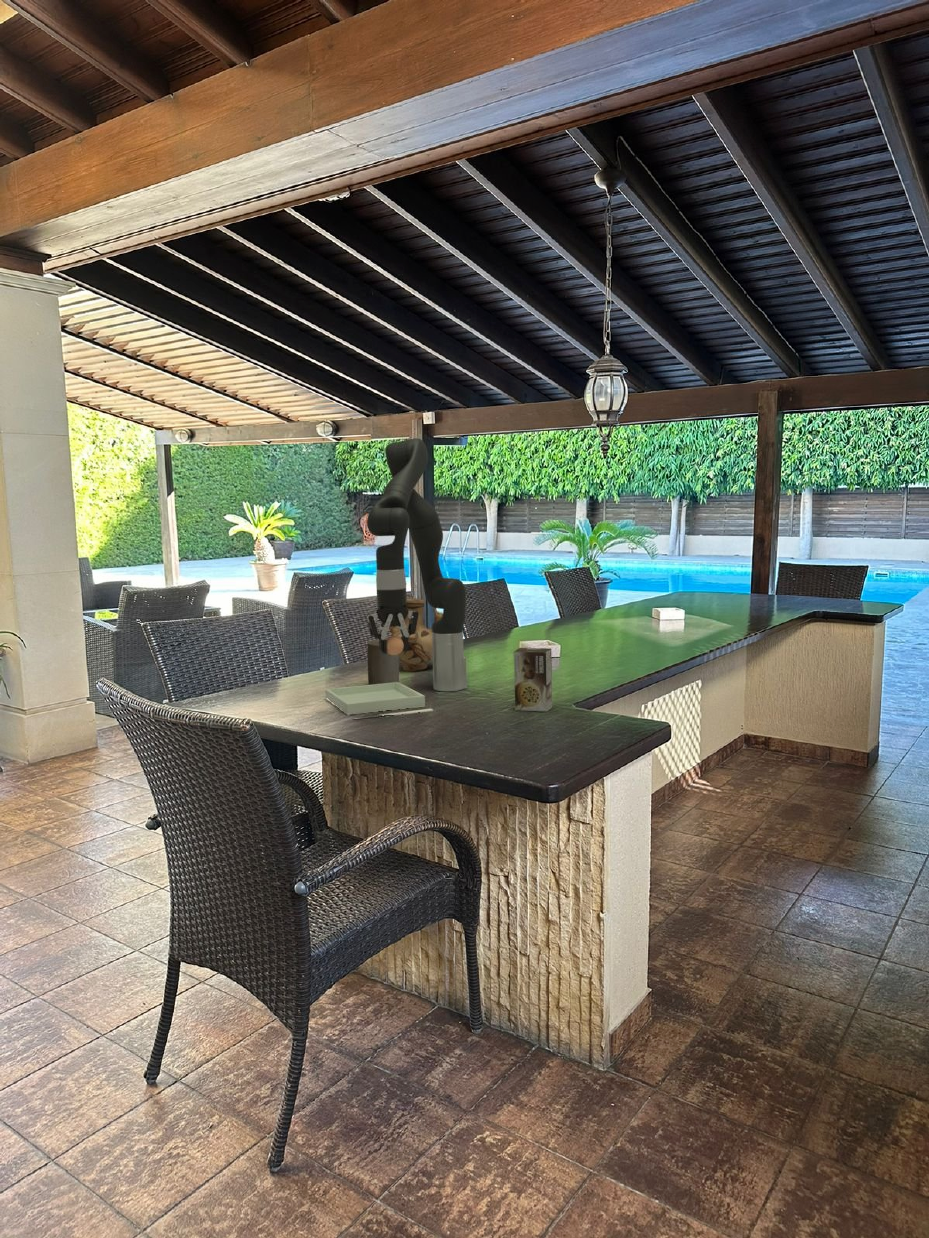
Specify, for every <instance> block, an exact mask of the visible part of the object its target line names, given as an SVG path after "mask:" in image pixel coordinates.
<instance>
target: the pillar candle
mask: <svg viewBox="0 0 929 1238" xmlns="http://www.w3.org/2000/svg"><path fill="white" fill-rule="evenodd" d="M366 651H367V680H368V682H367V683H368V684H367V685H373V684H383V683H393V682H399V683H400V661H399V654H398V655H390V654H388V653H387V654H382V652H380V650H379V639H378V640H370V641H368V642H367V650H366Z"/></svg>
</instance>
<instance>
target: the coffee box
mask: <svg viewBox="0 0 929 1238" xmlns="http://www.w3.org/2000/svg"><path fill="white" fill-rule="evenodd" d="M552 662H553V661H552V648H549V647H548V648H543V647H519V648H517V649H516V650H515V651H513V665H514V666H513V668H514V669H513V670H514V672H513V673H514V674H513V675H514V711H529V712H546V713H547V712H549V711H550V710H551V709H552V708H553V682H552V681H553V672H552V671H553V666H552Z"/></svg>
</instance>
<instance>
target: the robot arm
mask: <svg viewBox="0 0 929 1238" xmlns="http://www.w3.org/2000/svg"><path fill="white" fill-rule="evenodd" d="M385 459H386V464H387V466H388V469H389V472H390V475H391V479H390V480H389V481H388V483H387V484H386V485H385V488H384V490H383V493H382V496H381V498H380V499H379V500H378V501H377V502H376V503H375V504H374V505H373V506H372V508H371V509H370V510H369V512H368V515H367V519H366V526H367V529H368V531H369V533H370V534H372V536H375V537H394V538H393V541H392V543H389V544H386V545H382V546H378V547H377V548H376V550H375V557H376V558H375V559H376V560H375V563H376V574H375V575H376V577H375V579H376V580H375V583H376V603H377V610H376V611H375V613H372V614H367V615H366V616H365V618H366V622H367V625H368V629H369V633H370V636H371V637H372V638H375V639H378V640H379V650H380V652H382V654H387V645H386V639H387V637H386V636H387V633H388V632H389V631H390V629H389V627H392V626H397V627H398V628H399V630H400V633H401V635H402V637H401V639H402V641H403V644H404V648H403V650H402V651H403V652H407V649H408V648H409V639H408V638H409V636H410V635H412V634H415V631H416V626H417V621H418V615H419V613H418V612H417V611H409V610H408V608H407V599H408V598H407V578H406V571H405V557H404V556H405V554H404V553H405V545H406V539H407V535H408V531H409V534H410V537H411V540H412V543H413V547H414V550H415V551H414V552H415V554H416V558H417V562H418V565H419V571H420V574H421V575H420V576H421V580H422V586H423V591H424V595H425V599H426V601H427V603H428V604H429V605H430V607H432V608H433V609H434V608H435V609H440V610H443V611H442V613H443V617H442V618H441V619H440V620H438V621H435V622H434V621H433V623H432V624H431V628H432V646H433V659H432V684H433V685H432V686H433V687H432V688H433V690H435V691H438V692H456V691H457V692H458V691H462V690H466V689H467V685H468V683H467V681H468V680H467V657H466V656H464V626H465V625H464V624H465V621H466V608H467V605H466V603H467V593H466V587H465V584H464V583H463V581H461V580H460V579H458V578H452V577H444V576H443V574H442V570H441V566H440V561H439V560H440V559H439V558H440V551H441V548H442V545H443V540H444V533H443V528H442V525H441V521H440V517H439V514H438V512H437V511H436V509H435V508H434V507H433V505H431V504H430V503H429V502H428V501H427V500H426V499H425V498H424V497H423V496H422V495H421V494H420V493H418V492H417V490H416V489H415V488H416V485H417V484H418V482H419V481H420V479H421V477H422V476H423V474H424V473H425V471H426V470H427V467H428V463H429V453H428V448H427V446H426V444H425V442H424V441H423V440H422V439H421V438H410V439H408V438H407V439H405V440H404V439H403V440H401V441H400V440H399V441H396V442H391V443H389V444H387V445H386V448H385ZM407 615H408V617H409V618H410V620H409V626H408V630H407V627H406V624H405V622H404V621H405V618H406V617H407ZM377 619H378V620H379V621H380V624H379V628H377V625H376V624H377V621H378V620H377ZM378 629H379V631H378Z"/></svg>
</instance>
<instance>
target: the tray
mask: <svg viewBox="0 0 929 1238" xmlns="http://www.w3.org/2000/svg"><path fill="white" fill-rule="evenodd" d="M324 691H325V699H326V698H328V699H329V700H330V701H331V702H333V703H334V704H335V705H337V706H338V707H339V708H341V709H342V710H343V711H344V712H346V713H347V714H348V713H355V712H356V713H357V712H374V713H379V712H378V711H383V712H387V711H386V710H392V711H399V710H398V709H400V710H407V709H406V708H409V709H417V708H424V707H426V695H424V694H422V693H420V692H418V691H416V690H414V689H412V688H410V687H409V686H407V685H405V684H403V683H401V682H400V681H399V682H393V683H383V684H373V685H368V684H365V685H357V686H355V685H354V686H344V687H336V688H325V690H324Z"/></svg>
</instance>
